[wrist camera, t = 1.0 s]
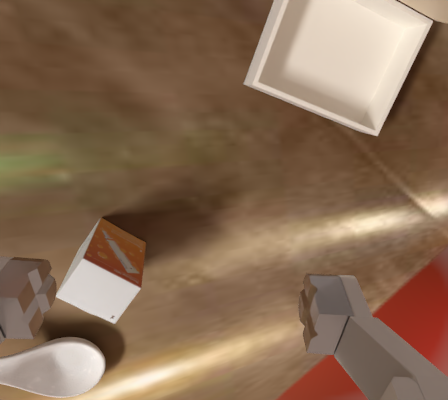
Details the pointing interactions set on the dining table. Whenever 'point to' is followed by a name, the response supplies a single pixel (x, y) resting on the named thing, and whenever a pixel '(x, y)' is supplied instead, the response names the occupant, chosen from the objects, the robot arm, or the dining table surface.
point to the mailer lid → (430, 8)
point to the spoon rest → (55, 368)
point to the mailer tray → (338, 57)
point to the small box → (105, 272)
